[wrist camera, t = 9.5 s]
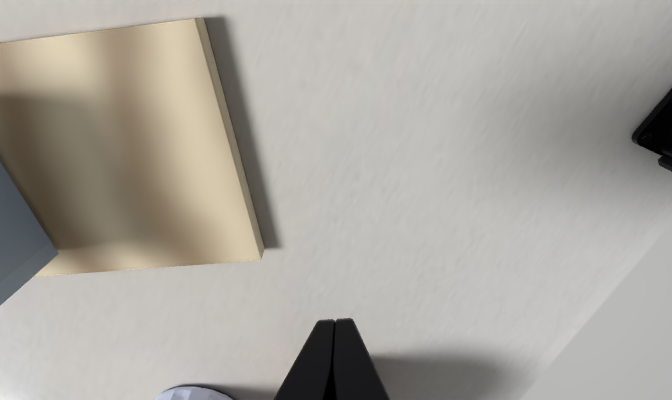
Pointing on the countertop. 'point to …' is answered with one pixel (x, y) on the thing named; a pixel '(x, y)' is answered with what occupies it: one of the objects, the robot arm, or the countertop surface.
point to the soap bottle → (191, 394)
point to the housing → (19, 240)
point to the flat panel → (126, 149)
